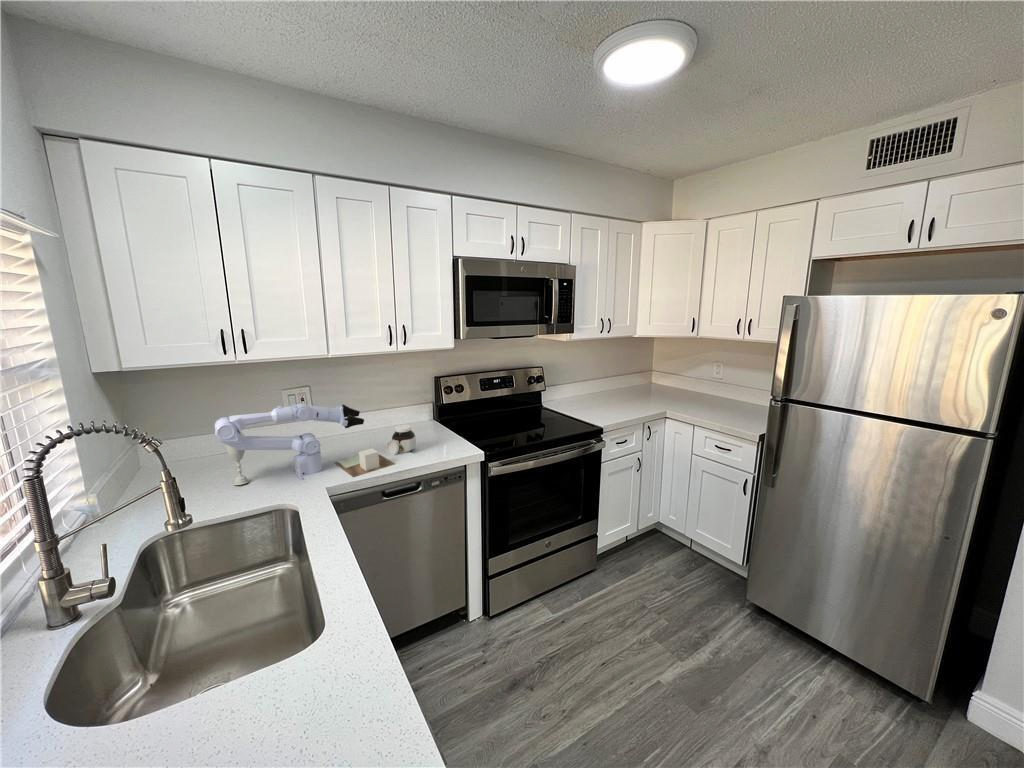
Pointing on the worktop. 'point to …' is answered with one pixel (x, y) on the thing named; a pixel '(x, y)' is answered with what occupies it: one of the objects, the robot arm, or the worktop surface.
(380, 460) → the walnut board
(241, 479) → the chalice
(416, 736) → the worktop surface
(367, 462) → the rounded beige cube
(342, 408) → the robot arm
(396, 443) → the spread jar
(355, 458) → the sage pad
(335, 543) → the worktop surface
